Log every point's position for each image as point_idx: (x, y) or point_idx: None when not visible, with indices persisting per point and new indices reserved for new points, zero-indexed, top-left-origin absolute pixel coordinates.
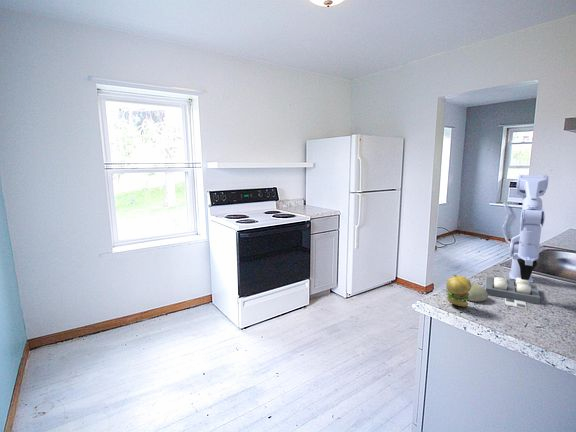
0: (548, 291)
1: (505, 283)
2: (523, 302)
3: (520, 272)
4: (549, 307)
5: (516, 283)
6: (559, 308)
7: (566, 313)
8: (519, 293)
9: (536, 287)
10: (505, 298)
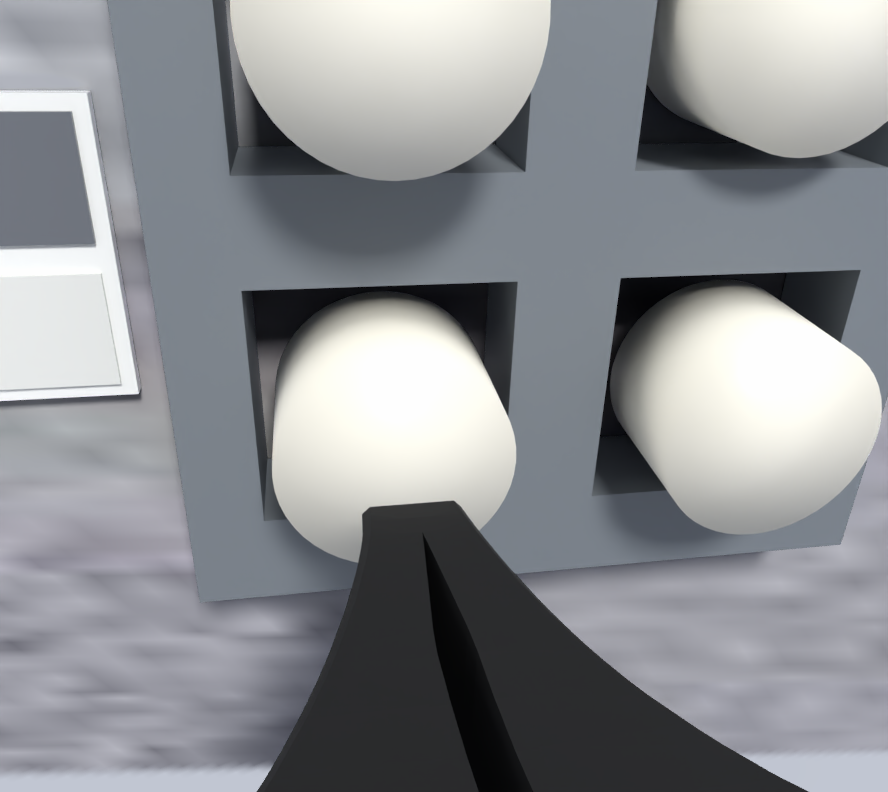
0: (783, 602)
1: (310, 129)
2: (75, 372)
3: (450, 585)
4: (176, 619)
5: (702, 318)
6: (222, 692)
7: (98, 741)
8: (205, 354)
9: (679, 554)
10: (66, 104)
